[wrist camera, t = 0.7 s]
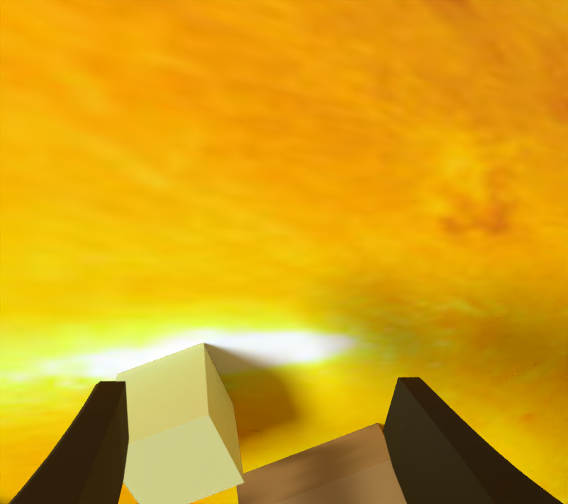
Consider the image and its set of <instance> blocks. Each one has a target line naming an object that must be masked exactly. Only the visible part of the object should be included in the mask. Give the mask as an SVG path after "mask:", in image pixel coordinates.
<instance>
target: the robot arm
mask: <svg viewBox="0 0 568 504" xmlns="http://www.w3.org/2000/svg"><path fill="white" fill-rule="evenodd" d="M383 432H384V436H385V440H386V444H387V449H388V452H389V456H390V460H391V463H392V467H393V470H394V472H395V475H396V477H397V480H398V483H399V485H400V488H401V490H402V493H403V495H404V498H405V500H406V503H407V504H563V503H562V502H560V501H559V500H557V499H556V498H555V497H553V496H552V495H551V494H549V493H548V492H547V491H545V490H544V489H543V488H541V487H540V486H539V485H537V484H536V483H535V482H533V481H532V480H531V479H529V478H528V477H527V476H526V475H524V474H523V473H522V472H521V471H520V470H518V469H517V468H516V467H515V466H513V465H512V464H511V463H510V462H509V461H508V460H506V459H505V458H504V457H503V456H502V455H501V454H499V453H498V452H497V451H496V450H495V449H494V448H493V447H491V446H490V445H489V444H488V443H487V442H486V441H485V440H484V439H483V438H482V437H480V436H479V435H478V434H477V433H476V432H475V431H474V430H473V429H472V428H471V427H470V426H469V425H468V424H467V423H466V422H465V421H463V420H462V419H461V418H460V417H459V416H458V415H457V414H456V413H455V412H454V411H453V410H452V409H451V408H450V407H449V406H448V405H447V404H446V403H445V402H444V401H443V400H442V399H441V398H440V397H439V396H438V395H437V394H436V393H435V392H434V391H433V390H432V389H431V388H430V387H429V386H428V385H427V384H426V383H425V382H424V381H423V380H421V379H420V378H419V377H402V378H398V380H397V384H396V387H395V391H394V394H393V398H392V401H391V404H390V408H389V411H388V415H387V418H386V422H385V425H384V429H383ZM128 443H129V428H128V412H127V395H126V381H100V382H99V383H98V384H96V385H95V387H94V389H93V391H92V392H91V394H90V396H89V397H88V399H87V401H86V402H85V404H84V406H83V407H82V409H81V410H80V412H79V413H78V415H77V416H76V418H75V419H74V421H73V422H72V424H71V425H70V427H69V428H68V429H67V431H66V432H65V434H64V435H63V436H62V438H61V439H60V440H59V442H58V443H57V445H56V446H55V447H54V449H53V450H52V451H51V453H50V454H49V455H48V457H47V458H46V459H45V460H44V462H43V463H42V464H41V465H40V467H39V468H38V469H37V470H36V472H35V473H34V474H33V475H32V477H31V478H30V479H29V480H28V482H27V483H26V484H25V485H24V486H23V488H22V489H21V490H20V491H19V492H18V493H17V495H16V496H15V497H14V498H13V499H12V500H11V502H10V503H9V504H118V501H119V497H120V493H121V488H122V484H123V480H124V473H125V466H126V459H127V451H128Z"/></svg>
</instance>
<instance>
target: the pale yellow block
mask: <svg viewBox="0 0 568 504" xmlns="http://www.w3.org/2000/svg"><path fill="white" fill-rule="evenodd" d="M116 381H126V395H127V412H128V428H129V443H128V451H127V459H126V466H125V473H124V480H123V482H124V484H125V485H126V487H127V488H128V489H129V491H130V492H131V494H132V495H133V496H134V498H135V499H136V501H137V502H138V503H139V504H189V503H192V502H194V501H197V500H200V499H202V498H205V497H208V496H210V495H213V494H215V493H218V492H221V491H223V490H226V489H229V488H231V487H234V486H237V485H239V484H242V483H244V477H243V469H242V462H241V455H240V447H239V440H238V433H237V425H236V418H235V411H234V405H233V402H232V400H231V398H230V396H229V394H228V392H227V390H226V388H225V386H224V384H223V382H222V380H221V378H220V376H219V374H218V371H217V369H216V367H215V365H214V363H213V361H212V359H211V357H210V355H209V353H208V351H207V349H206V347H205V345H204V343H201V344H198V345H195V346H193V347H190V348H187V349H185V350H182V351H179V352H176V353H174V354H171V355H168V356H165V357H163V358H160V359H157V360H154V361H152V362H149V363H146V364H144V365H141V366H138V367H135V368H133V369H130V370H127V371H124V372H122V373H119V374H117V379H116Z"/></svg>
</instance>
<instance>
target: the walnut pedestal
mask: <svg viewBox="0 0 568 504" xmlns="http://www.w3.org/2000/svg"><path fill="white" fill-rule="evenodd" d="M243 477H244V483H242V484H239V485H237V494H238V502H239V504H407V503H406V500H405V498H404V495H403V493H402V490H401V488H400V485H399V483H398V480H397V477H396V475H395V472H394V470H393V467H392V463H391V460H390V456H389V452H388V449H387V444H386V440H385V437H384V435H383V433H382V431H381V429H380V427H379V425H378V423H376V424H373V425H371V426H368V427H365V428H363V429H360V430H358V431H355V432H352V433H350V434H347V435H344V436H342V437H339V438H336V439H334V440H331V441H328V442H326V443H323V444H321V445H318V446H315V447H313V448H310V449H307V450H305V451H302V452H299V453H297V454H294V455H291V456H289V457H286V458H284V459H281V460H278V461H276V462H273V463H270V464H268V465H265V466H262V467H260V468H257V469H254V470H252V471H249V472H247V473H244V474H243Z"/></svg>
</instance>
